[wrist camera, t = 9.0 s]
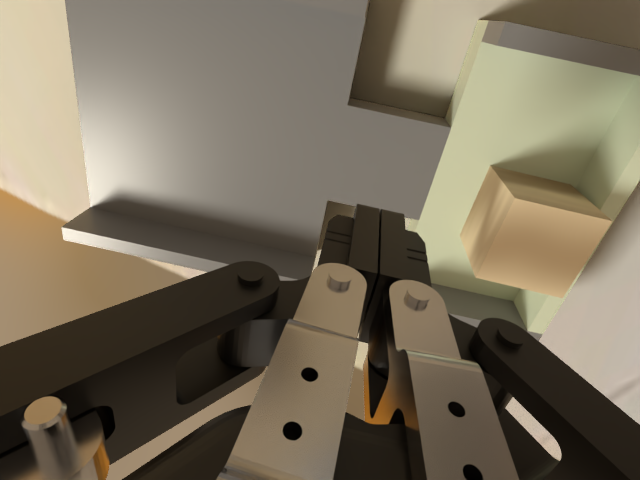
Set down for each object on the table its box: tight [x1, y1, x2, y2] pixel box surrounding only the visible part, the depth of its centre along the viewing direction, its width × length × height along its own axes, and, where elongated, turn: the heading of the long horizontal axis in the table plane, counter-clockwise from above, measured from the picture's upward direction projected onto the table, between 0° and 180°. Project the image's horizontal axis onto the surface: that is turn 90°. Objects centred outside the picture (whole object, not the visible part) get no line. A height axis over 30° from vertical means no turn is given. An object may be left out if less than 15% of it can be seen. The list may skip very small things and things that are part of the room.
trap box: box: [61, 0, 640, 341], centre depth 20 cm, size 14×26×4 cm, turn 79°
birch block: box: [460, 166, 613, 298], centre depth 19 cm, size 4×4×4 cm
